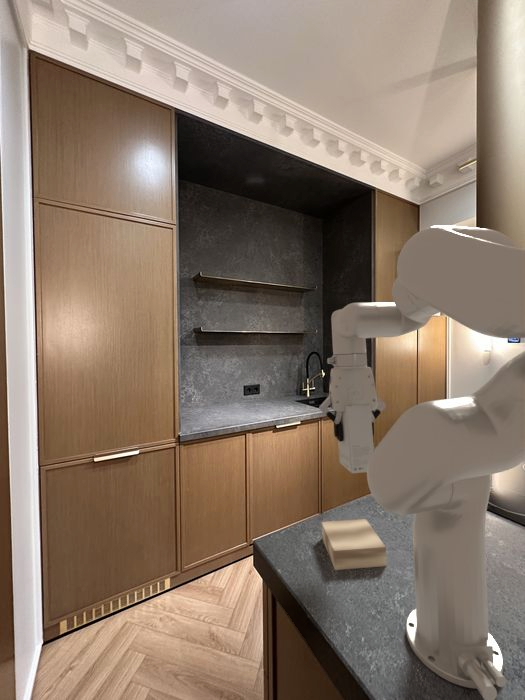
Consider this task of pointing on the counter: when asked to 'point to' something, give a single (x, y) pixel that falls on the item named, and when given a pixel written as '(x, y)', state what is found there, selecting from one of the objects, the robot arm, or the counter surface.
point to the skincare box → (356, 438)
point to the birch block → (353, 544)
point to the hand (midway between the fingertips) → (354, 438)
